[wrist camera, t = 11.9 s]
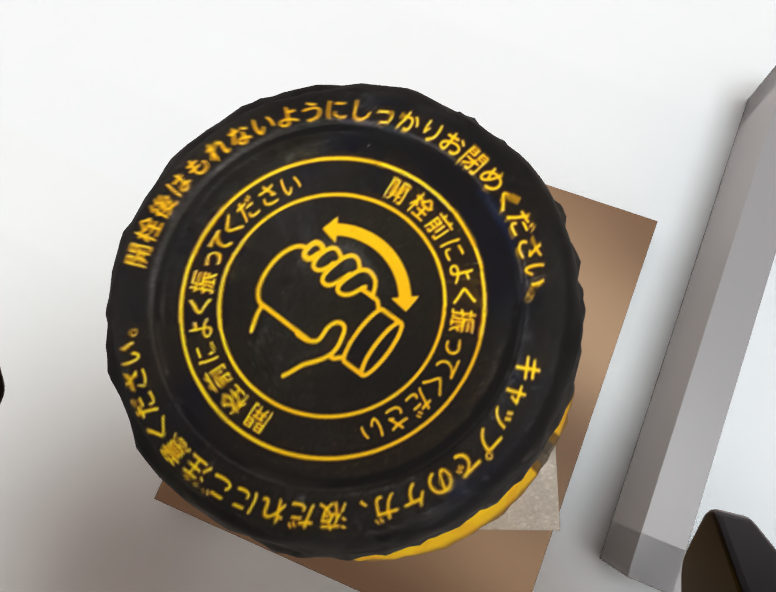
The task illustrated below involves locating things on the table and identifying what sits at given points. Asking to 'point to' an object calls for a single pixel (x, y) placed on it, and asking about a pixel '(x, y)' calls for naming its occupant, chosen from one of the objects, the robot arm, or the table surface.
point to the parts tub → (701, 360)
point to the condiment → (350, 326)
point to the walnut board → (527, 547)
